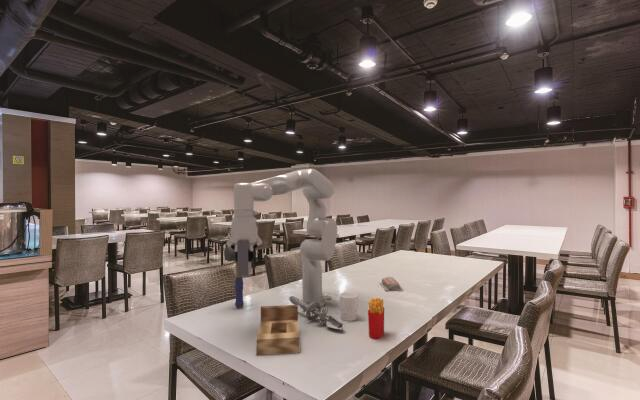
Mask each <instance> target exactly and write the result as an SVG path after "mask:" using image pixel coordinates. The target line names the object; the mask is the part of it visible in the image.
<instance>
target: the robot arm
mask: <svg viewBox="0 0 640 400" xmlns="http://www.w3.org/2000/svg"><path fill="white" fill-rule="evenodd" d="M299 189H302V194H303V196H304V197H305V199H306V201H307V203H308V207H309V211H308V212H309V213H308V216H307V218H308V219H307V223H306V234H307V235H308V236H311V237H313V238H321V239H313V238H310V239H309V238H308V239H305V240H303V241H302V242H301V243H300V246H299V253H300V257H301V268H302V269H301V270H302V273H301V276H302V278H301V279H302V281H301V282H302V283H301V285H302V299H301V300H299V301H300V302H305V303H306V301H308V302H309V303H308V304H309V305H310V304H311V303H313V302H318V303H319V304H320V306H321V308H322V307H324V306H325V305H326V301H332V300H333V299H332V298H333V297H332V295H324V294H323V274H322V273H323V269H322V264H321V262H320V261H324V262H326V261H330V260H331V259H332V258H333V257H334V254H335V249H336V244H337V236H338V225H337V224H338V223H337V222H336V221H335V220H334V219H332V218H331V217H327V205H326V203H325V201H324V200H323V199H326V200H327V199H330V198H331V197H333V195H334V193H335V187H334V184H333V183H332V181H330V180H329V179H328V178H327V176H325V175H323V174H322V173H321V172H320V171H318V170H317V169H316V168H305V169H297V170H294V171H290V172H287V173H284V174H279V175H276V176H273V177H272V176H271V177H268V178H264V179H261V180H257V181H254V182H237V183H235V184H234V185H233V218H232V219H231V225H230V236H229V238H228V239H227V241H226V243H225V245H226V246H227V247H228V246H229V247H231V248H232V249H233V250H234V251H235V256H236V260H237V262H238V259H237V241H249V246H250V252H249V262H251V263H252V262H253V260H254V254H255V253H254V250H256V249H257V247H259V246H260V245H262V244H263V241H262V239H261V238H260V236H259V231H258V229H259V228H258V222H257V218H256V217H255V216H256V215H258V211H256V210H254V207H255V206H254V205H255V204H254V203H255V202H260V203H261V202H266V201H269V200H271V198H272V197H273V196H279V195H281V196H282V195H285V194H289V193H291V192H294V191H297V190H299ZM314 308H315V307H313V309H314ZM315 309H316V308H315Z"/></svg>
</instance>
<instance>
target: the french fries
mask: <svg viewBox="0 0 640 400" xmlns="http://www.w3.org/2000/svg"><path fill="white" fill-rule="evenodd" d="M368 308H369V309H368V310H367V319H368V322H367V323H368V337H369V338H370V339H373V340H378V339H379V340H380V339H381V338H382V337H383V336H384V335H385V307H384V299H383V298H380V297H375V298H372V299H371V298H370V300H369V301H368Z"/></svg>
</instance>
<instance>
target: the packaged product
mask: <svg viewBox="0 0 640 400" xmlns="http://www.w3.org/2000/svg"><path fill="white" fill-rule="evenodd" d="M379 285H380V286H381V288H382V289H383V288H384V289H383V290H384V291H385V292H387V293H388V291H398V292H404V288H403V287H402V286H401V285H400V283H399V282H398V281H397V280H396V279H395V278H394V277H392V276H387V277H383V278H382V279H381V282H379Z"/></svg>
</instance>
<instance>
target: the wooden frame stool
mask: <svg viewBox="0 0 640 400" xmlns="http://www.w3.org/2000/svg"><path fill="white" fill-rule="evenodd" d="M298 306H299V305H295V304H288V305H286V304H285V305H284V304H283V305H263V306H262V305H261V306H260V324H259V327H258V333H257V337H256V356H263V355H279V354H297V353H300V352H301V351H300V350H301V348H300V347H301V346H300V343H301V342H300V327H299V307H298Z"/></svg>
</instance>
